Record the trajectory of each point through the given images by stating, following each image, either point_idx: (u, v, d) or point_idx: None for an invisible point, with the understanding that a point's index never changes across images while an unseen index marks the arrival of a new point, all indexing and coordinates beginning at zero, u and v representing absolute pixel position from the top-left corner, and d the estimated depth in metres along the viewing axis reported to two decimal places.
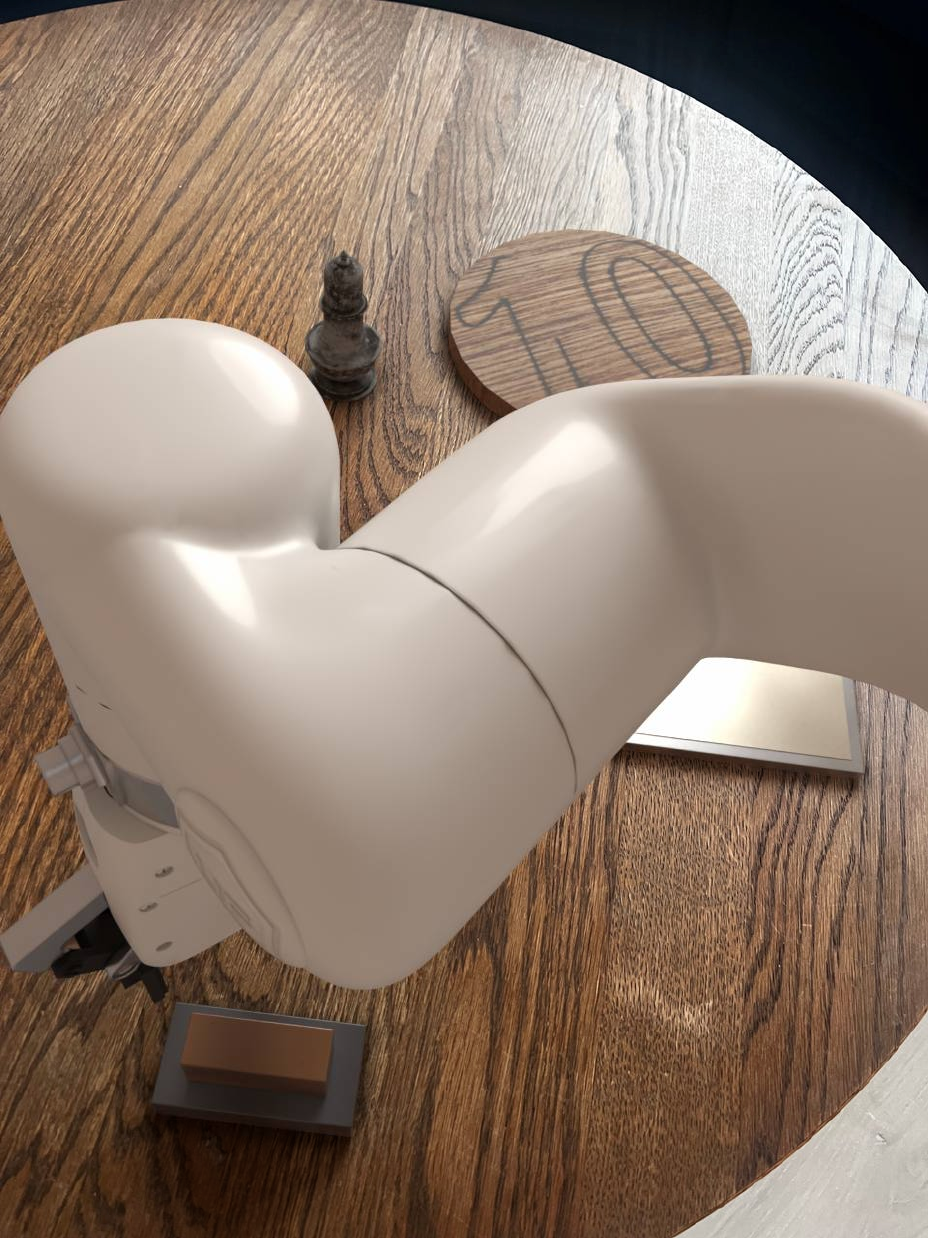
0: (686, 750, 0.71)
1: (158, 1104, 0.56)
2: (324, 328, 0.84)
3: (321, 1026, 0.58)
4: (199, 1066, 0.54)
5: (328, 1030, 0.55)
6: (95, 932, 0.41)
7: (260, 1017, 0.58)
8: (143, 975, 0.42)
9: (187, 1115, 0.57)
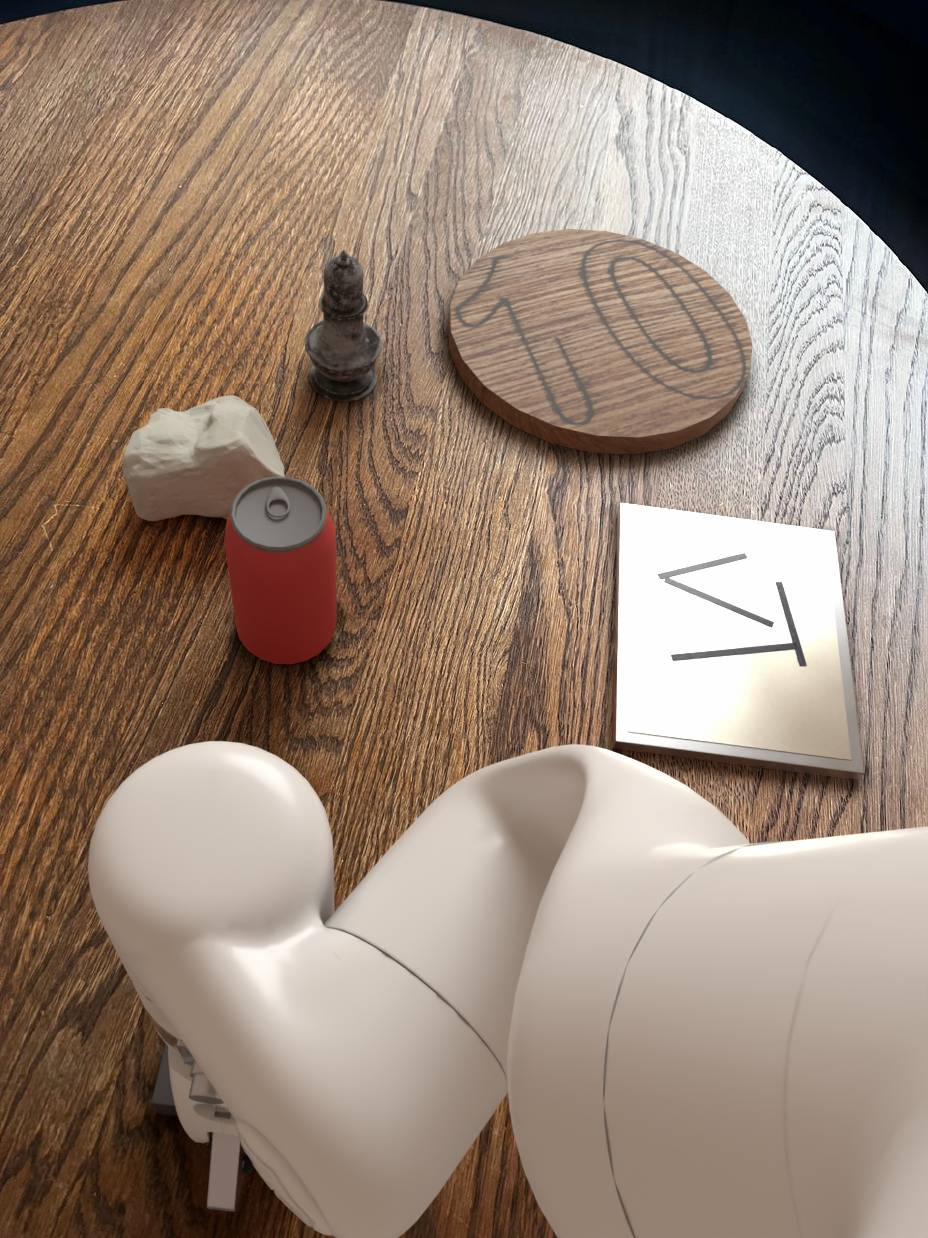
0: (686, 750, 0.71)
1: (158, 1104, 0.56)
2: (324, 328, 0.84)
3: None
4: None
5: None
6: None
7: None
8: None
9: None
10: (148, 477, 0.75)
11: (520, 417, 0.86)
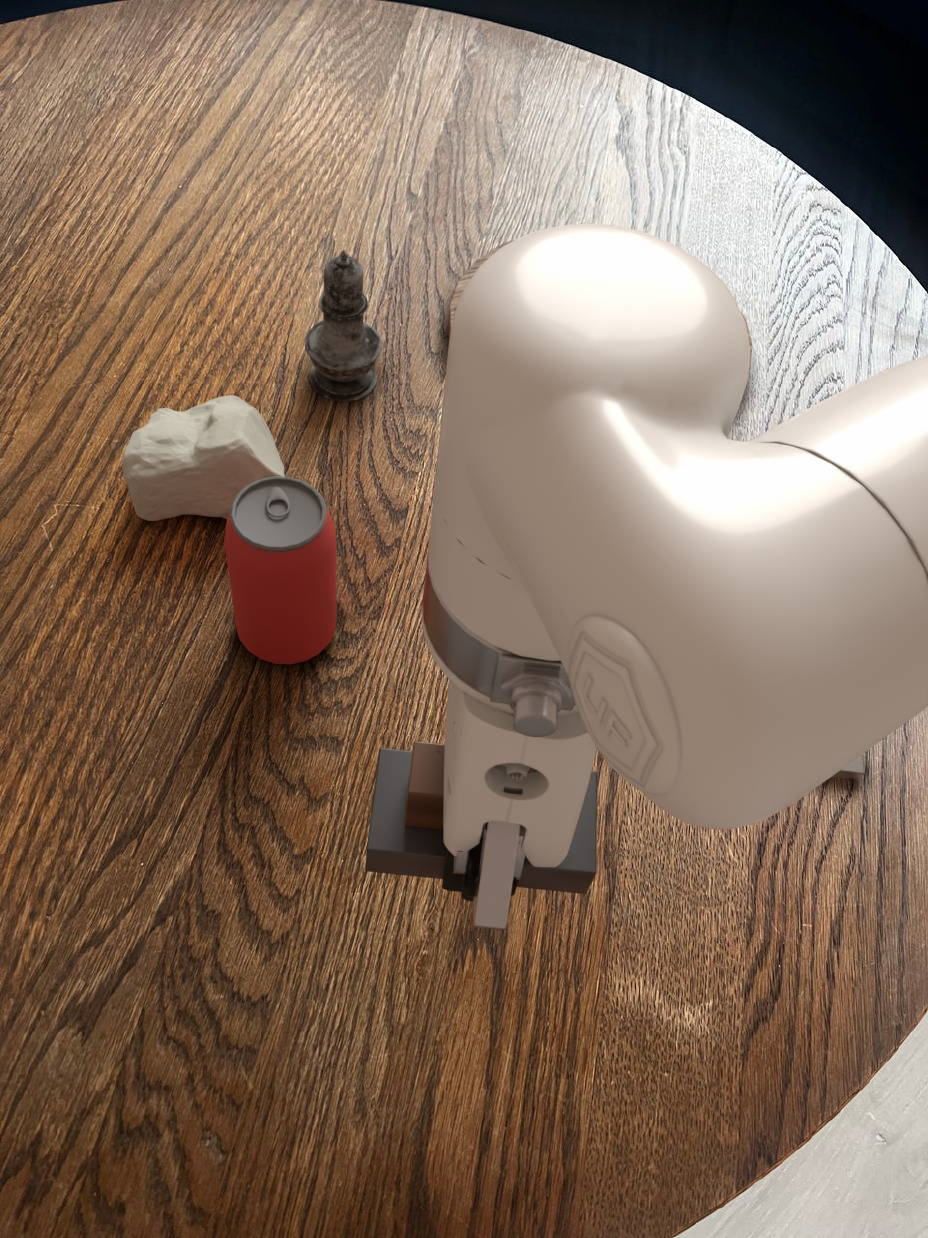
0: None
1: (374, 850, 0.49)
2: (324, 328, 0.84)
3: None
4: (431, 795, 0.47)
5: None
6: None
7: None
8: (524, 861, 0.47)
9: (401, 870, 0.50)
10: (148, 477, 0.75)
11: None
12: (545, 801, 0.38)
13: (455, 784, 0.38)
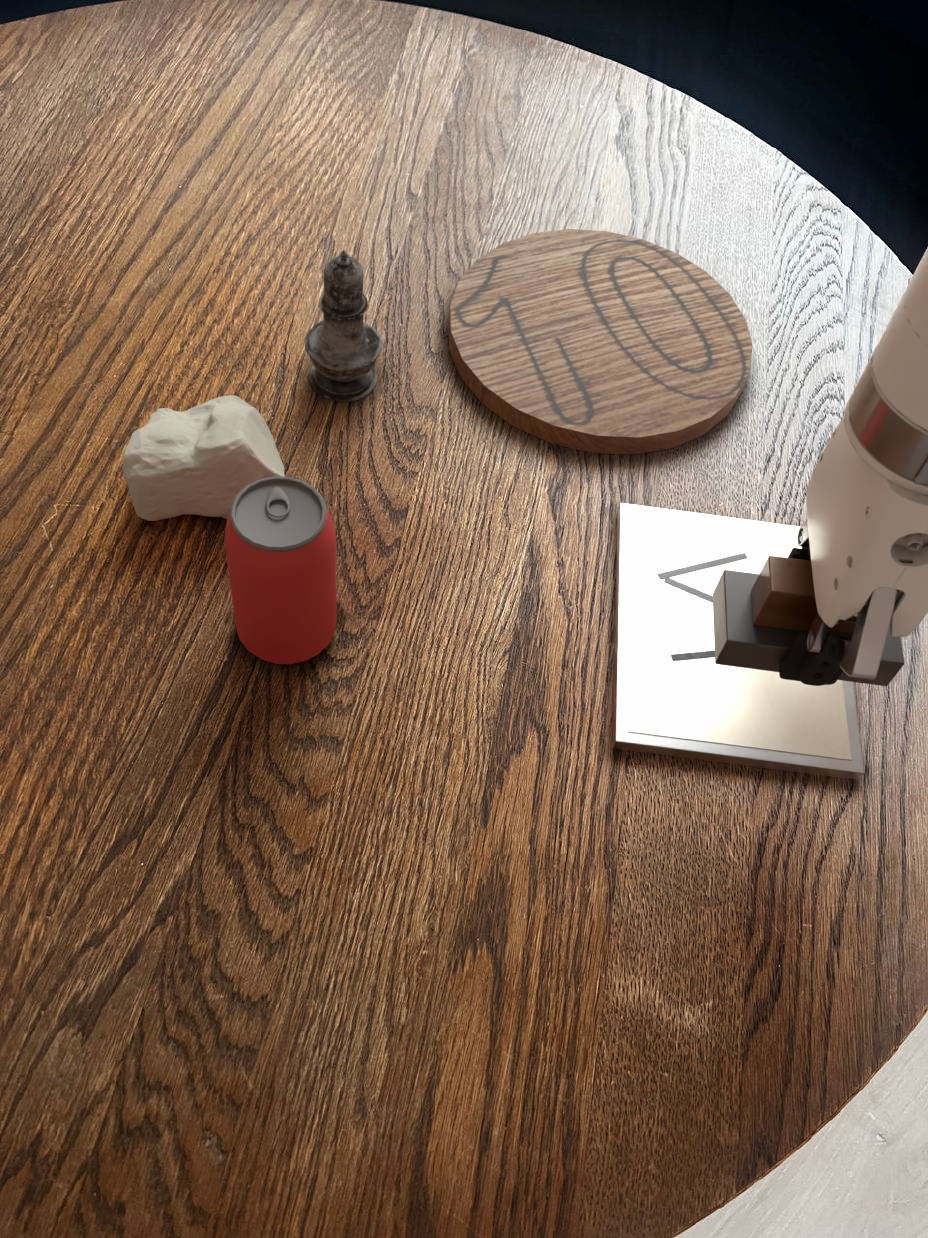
0: (686, 750, 0.71)
1: (733, 642, 0.62)
2: (324, 328, 0.84)
3: None
4: (789, 593, 0.60)
5: None
6: (842, 636, 0.59)
7: None
8: None
9: (745, 662, 0.64)
10: (148, 477, 0.75)
11: (520, 417, 0.86)
12: None
13: (861, 556, 0.52)
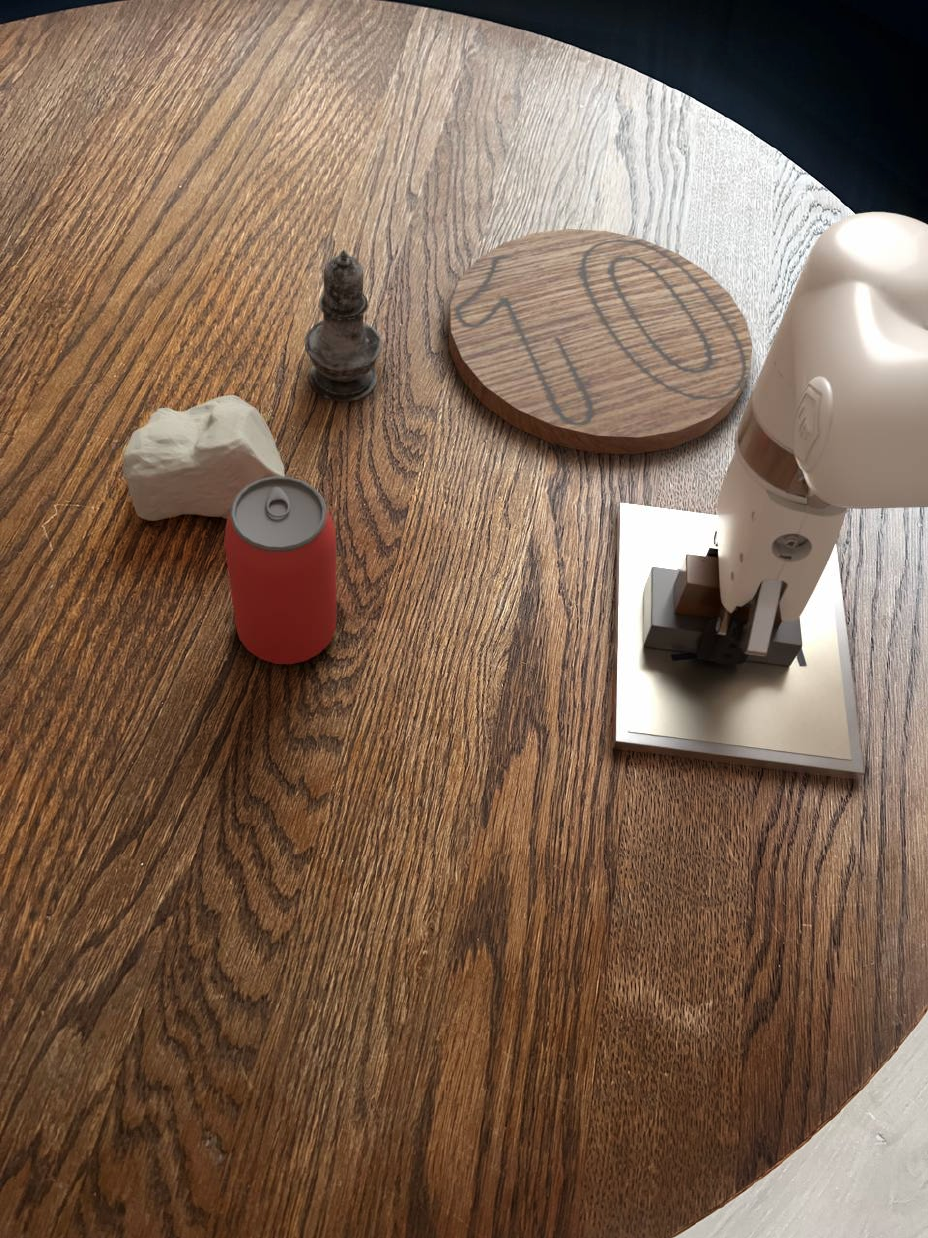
0: (686, 750, 0.71)
1: (656, 627, 0.73)
2: (324, 328, 0.84)
3: None
4: (701, 585, 0.71)
5: None
6: (743, 621, 0.70)
7: None
8: None
9: (669, 644, 0.75)
10: (148, 476, 0.75)
11: (520, 417, 0.86)
12: (805, 562, 0.63)
13: (749, 552, 0.63)
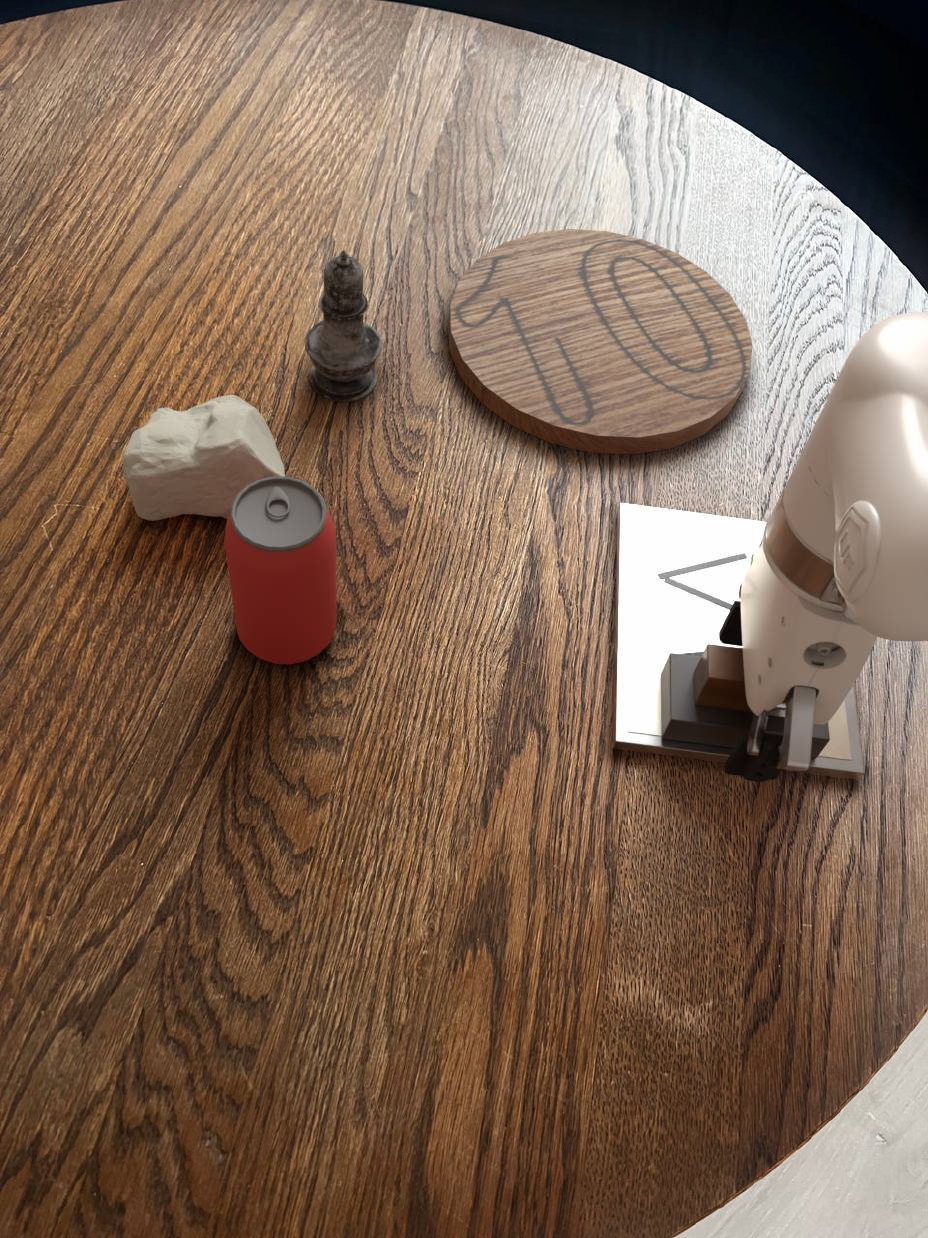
0: (686, 750, 0.71)
1: (676, 720, 0.70)
2: (324, 328, 0.84)
3: None
4: (724, 679, 0.68)
5: None
6: (778, 742, 0.64)
7: None
8: None
9: (688, 737, 0.71)
10: (148, 476, 0.75)
11: (520, 417, 0.86)
12: (839, 670, 0.59)
13: (779, 659, 0.59)
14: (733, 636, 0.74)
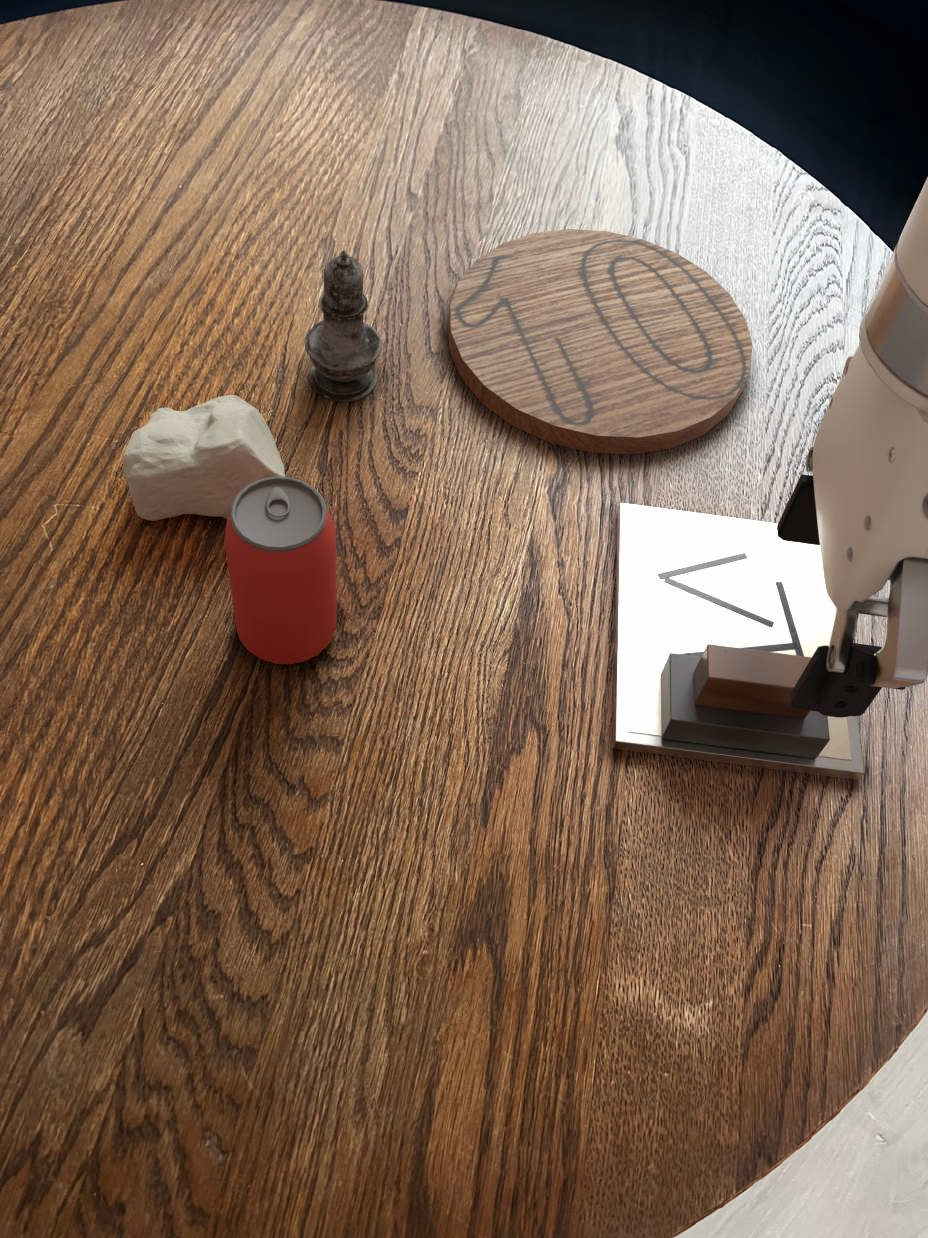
0: (686, 750, 0.71)
1: (676, 720, 0.70)
2: (324, 328, 0.84)
3: None
4: (724, 679, 0.68)
5: None
6: (873, 650, 0.44)
7: None
8: None
9: (688, 737, 0.71)
10: (148, 476, 0.75)
11: (520, 417, 0.86)
12: None
13: (883, 514, 0.40)
14: (797, 528, 0.54)
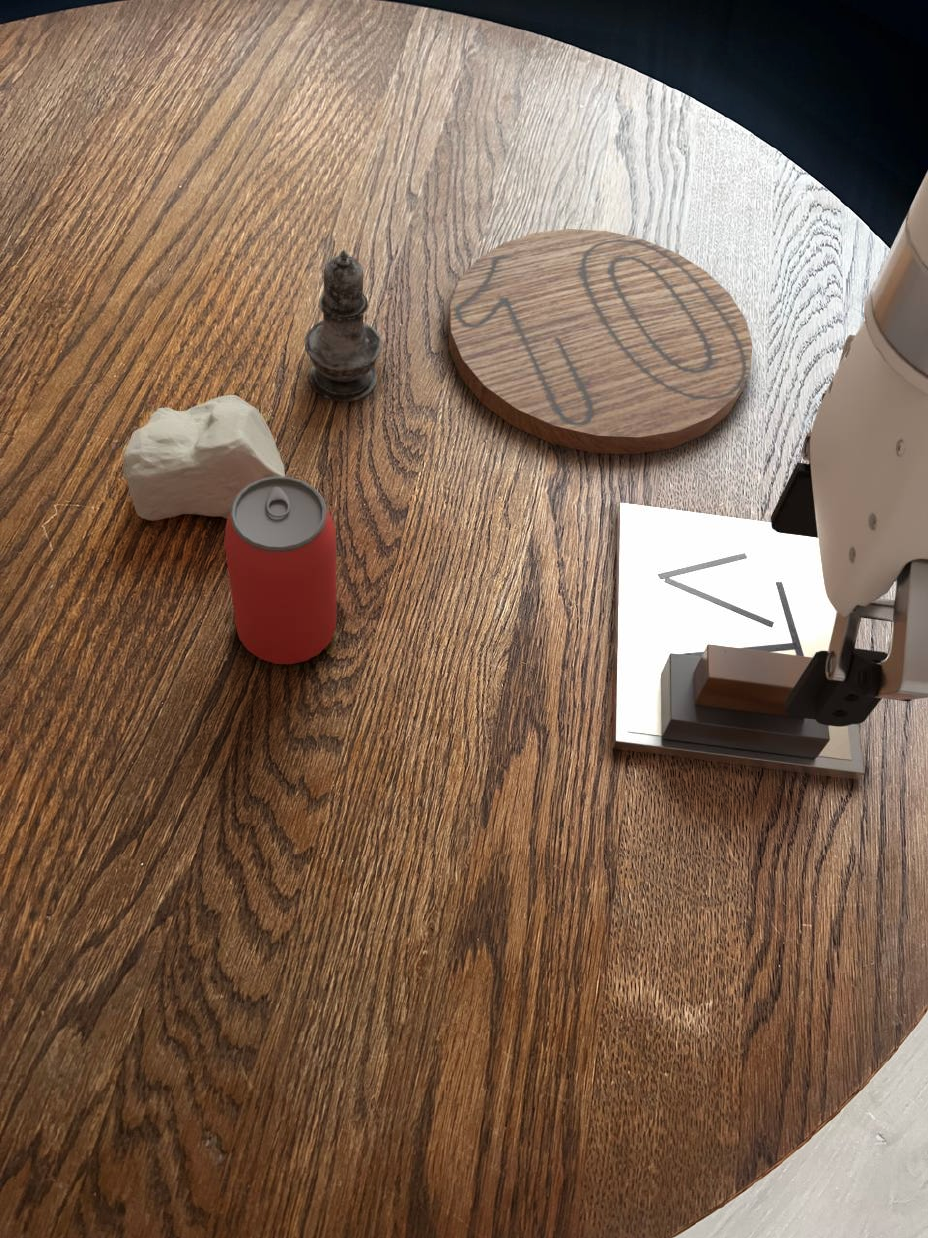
0: (686, 750, 0.71)
1: (676, 720, 0.70)
2: (324, 328, 0.84)
3: None
4: (724, 679, 0.68)
5: None
6: (877, 658, 0.41)
7: None
8: None
9: (688, 737, 0.71)
10: (148, 476, 0.75)
11: (520, 417, 0.86)
12: None
13: (890, 512, 0.36)
14: (792, 520, 0.50)
